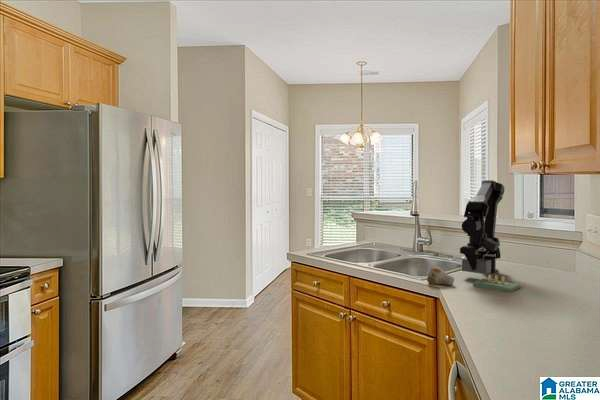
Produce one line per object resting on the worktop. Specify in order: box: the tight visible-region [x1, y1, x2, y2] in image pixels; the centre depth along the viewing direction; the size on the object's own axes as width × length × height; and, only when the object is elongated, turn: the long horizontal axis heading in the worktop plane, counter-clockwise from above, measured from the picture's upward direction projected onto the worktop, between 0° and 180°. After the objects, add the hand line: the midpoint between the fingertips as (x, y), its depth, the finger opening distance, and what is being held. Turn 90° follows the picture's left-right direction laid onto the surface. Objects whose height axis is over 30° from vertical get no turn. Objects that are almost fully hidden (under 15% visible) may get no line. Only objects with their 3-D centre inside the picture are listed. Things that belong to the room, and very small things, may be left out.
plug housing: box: [461, 257, 492, 275], centre depth 188 cm, size 5×10×5 cm, turn 46°
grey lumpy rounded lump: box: [426, 265, 455, 286], centre depth 180 cm, size 8×10×10 cm
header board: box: [472, 273, 521, 293], centre depth 175 cm, size 9×14×4 cm, turn 46°
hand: (476, 268), depth 188 cm, fingers closed on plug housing, 5 cm apart
